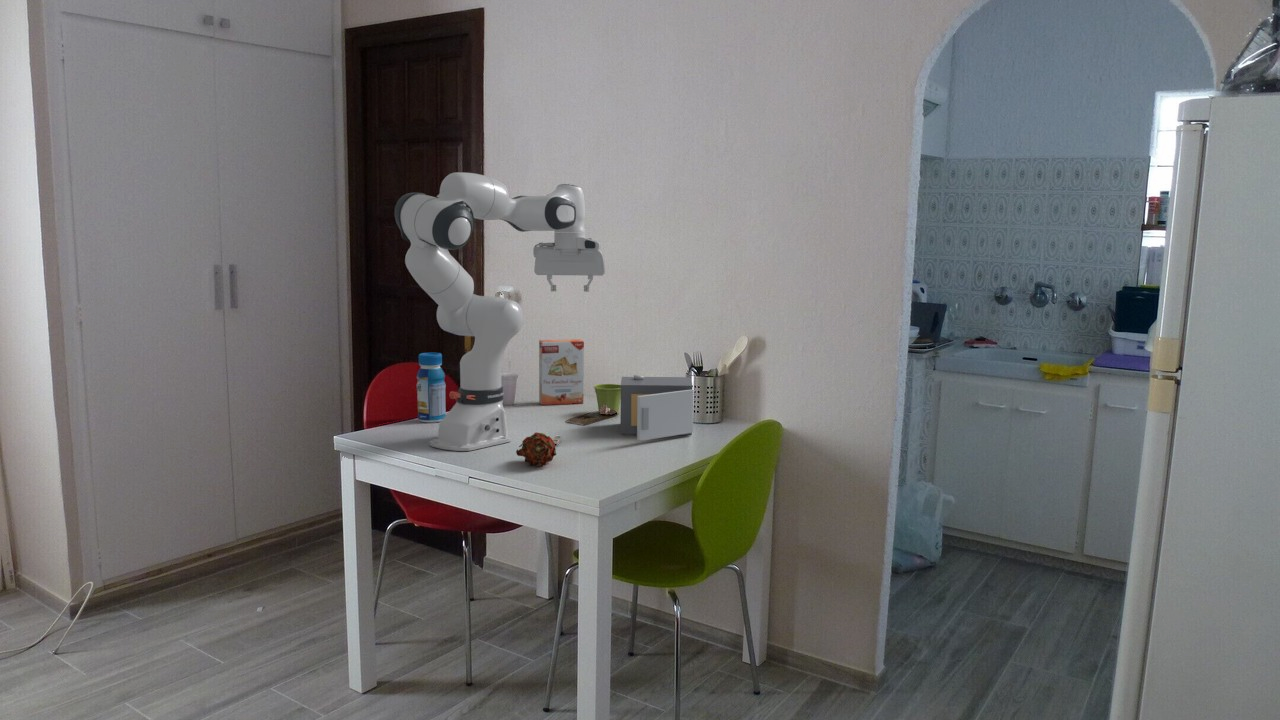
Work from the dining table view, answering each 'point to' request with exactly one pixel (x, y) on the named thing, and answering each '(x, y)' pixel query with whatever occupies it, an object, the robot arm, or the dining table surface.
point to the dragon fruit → (537, 449)
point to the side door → (664, 414)
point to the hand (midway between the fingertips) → (570, 291)
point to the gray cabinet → (645, 386)
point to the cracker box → (561, 371)
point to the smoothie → (509, 386)
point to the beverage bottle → (431, 388)
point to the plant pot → (608, 396)
